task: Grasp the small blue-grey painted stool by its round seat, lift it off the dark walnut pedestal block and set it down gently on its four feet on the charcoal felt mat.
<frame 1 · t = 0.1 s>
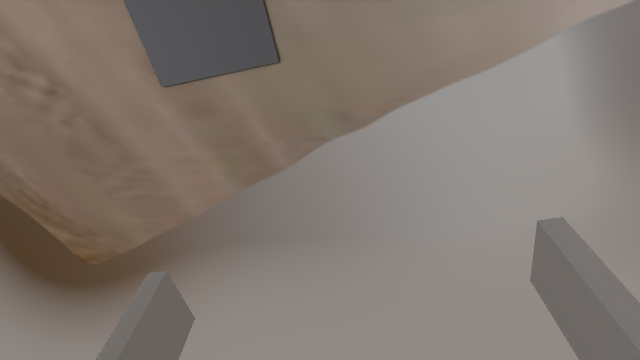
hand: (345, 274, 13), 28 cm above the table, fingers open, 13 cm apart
mat: (196, 6, 34), on the table
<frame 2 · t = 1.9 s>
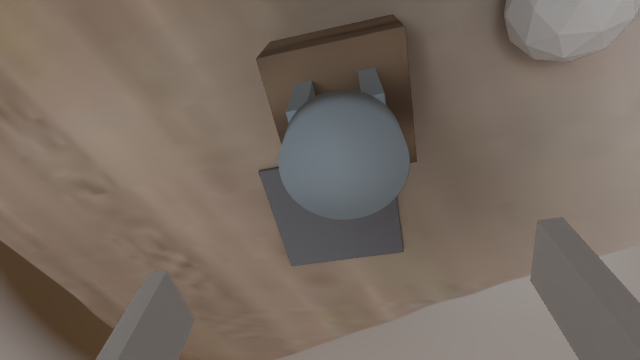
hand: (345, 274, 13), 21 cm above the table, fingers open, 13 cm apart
pedestal: (341, 88, 31), on the table
mat: (335, 212, 38), on the table
stool: (341, 113, 26), point 6 cm above the table, touching pedestal
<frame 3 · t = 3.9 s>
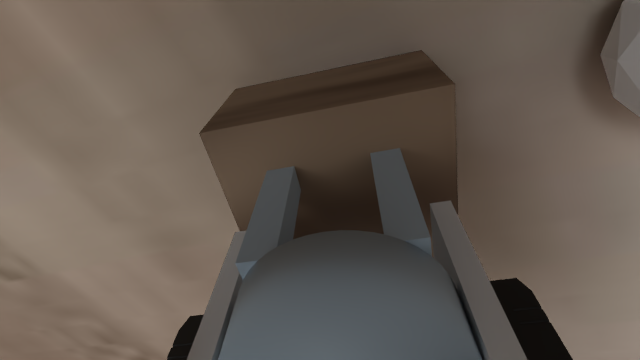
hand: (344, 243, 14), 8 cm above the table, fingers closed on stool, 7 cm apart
pedestal: (341, 153, 21), on the table
stool: (343, 213, 16), point 6 cm above the table, touching gripper, pedestal
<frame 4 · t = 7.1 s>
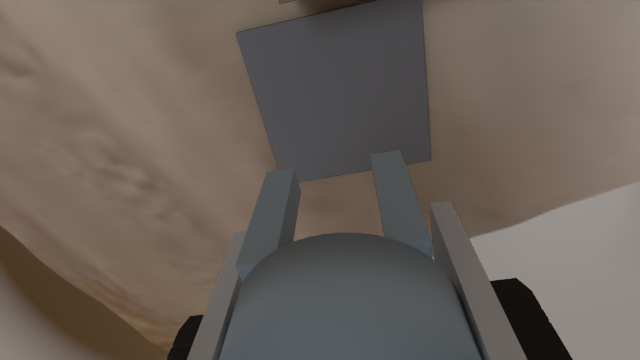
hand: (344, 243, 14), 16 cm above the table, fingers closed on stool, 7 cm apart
mat: (341, 100, 28), on the table
stool: (343, 215, 16), point 14 cm above the table, touching gripper
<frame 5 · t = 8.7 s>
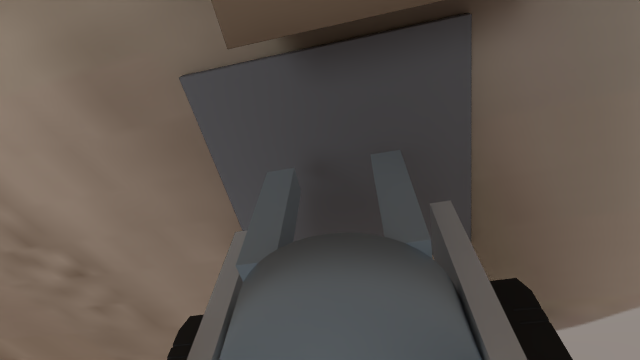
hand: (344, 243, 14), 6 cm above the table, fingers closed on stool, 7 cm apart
mat: (342, 170, 19), on the table
stool: (343, 214, 16), point 4 cm above the table, touching gripper
when the fingers open (3 cm above the table, at t = 10.1 s): stool stays where it is, resting on mat.
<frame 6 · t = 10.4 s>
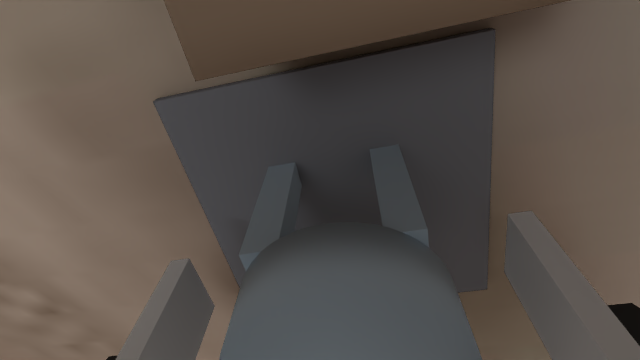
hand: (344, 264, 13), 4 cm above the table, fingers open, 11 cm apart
mat: (343, 203, 17), on the table
stool: (343, 208, 16), resting on mat
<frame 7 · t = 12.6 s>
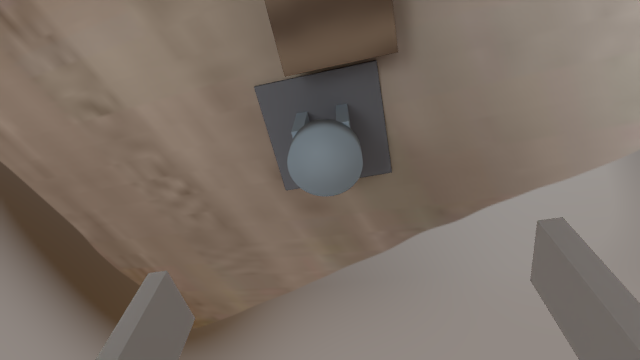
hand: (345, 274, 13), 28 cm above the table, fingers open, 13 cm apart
mat: (326, 130, 40), on the table
stool: (326, 132, 40), resting on mat
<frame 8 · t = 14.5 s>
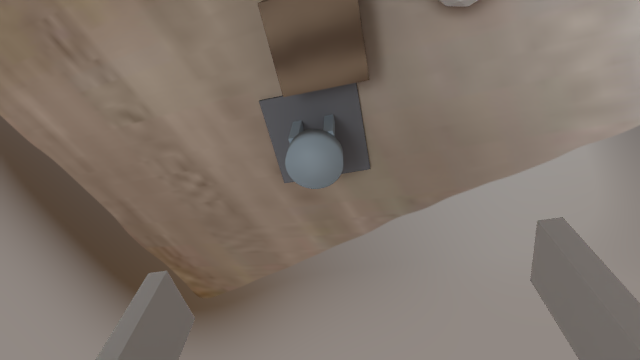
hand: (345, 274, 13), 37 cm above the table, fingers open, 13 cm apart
pedestal: (318, 34, 43), on the table
mat: (317, 135, 50), on the table
stool: (317, 136, 50), resting on mat
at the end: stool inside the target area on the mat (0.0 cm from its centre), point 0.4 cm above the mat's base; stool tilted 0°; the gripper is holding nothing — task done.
